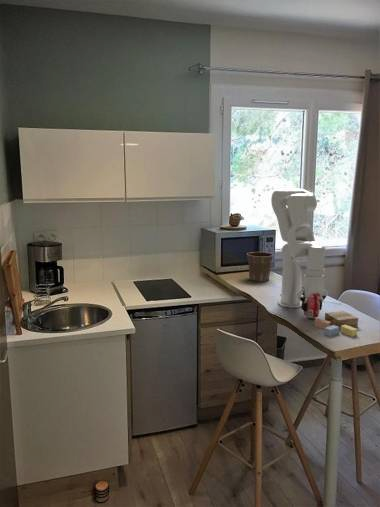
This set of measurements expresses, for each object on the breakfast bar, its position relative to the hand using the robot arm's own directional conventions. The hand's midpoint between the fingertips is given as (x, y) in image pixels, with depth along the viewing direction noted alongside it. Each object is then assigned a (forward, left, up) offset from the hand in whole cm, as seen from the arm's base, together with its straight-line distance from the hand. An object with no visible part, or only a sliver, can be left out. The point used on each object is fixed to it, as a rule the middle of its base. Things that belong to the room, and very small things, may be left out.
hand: (311, 309), depth 205 cm
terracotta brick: (+11, -1, -5) cm, 12 cm away
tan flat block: (+10, +9, -4) cm, 14 cm away
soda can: (0, 0, -4) cm, 4 cm away
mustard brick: (+21, +5, -5) cm, 22 cm away
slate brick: (+19, -2, -5) cm, 20 cm away
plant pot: (-73, +9, -5) cm, 74 cm away
